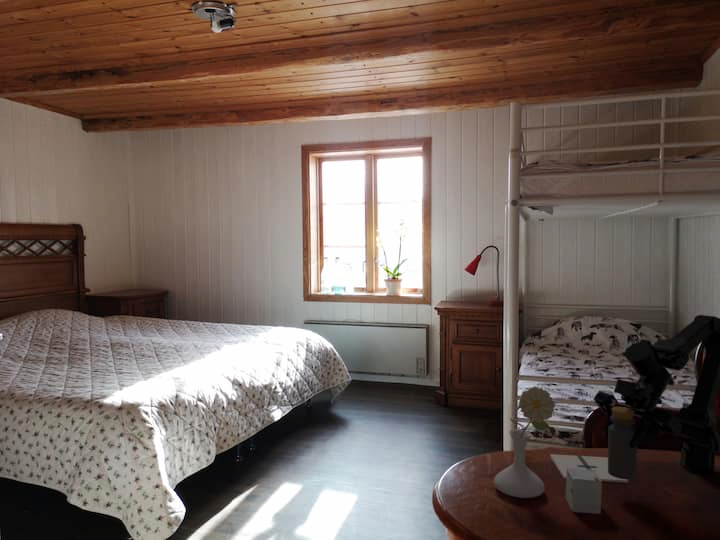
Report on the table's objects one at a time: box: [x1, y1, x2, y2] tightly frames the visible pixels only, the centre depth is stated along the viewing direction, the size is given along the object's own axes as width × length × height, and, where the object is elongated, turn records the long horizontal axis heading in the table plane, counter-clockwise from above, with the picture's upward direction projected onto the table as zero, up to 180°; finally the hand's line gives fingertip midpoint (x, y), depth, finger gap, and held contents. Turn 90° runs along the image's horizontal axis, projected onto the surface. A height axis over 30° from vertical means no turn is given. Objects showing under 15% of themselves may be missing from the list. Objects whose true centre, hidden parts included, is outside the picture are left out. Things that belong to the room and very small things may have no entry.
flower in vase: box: [493, 386, 556, 499], centre depth 122 cm, size 13×11×25 cm
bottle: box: [607, 407, 638, 481], centre depth 120 cm, size 6×6×15 cm
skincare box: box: [565, 468, 603, 515], centre depth 116 cm, size 6×6×7 cm
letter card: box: [549, 454, 629, 484], centre depth 136 cm, size 15×14×1 cm
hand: (618, 442), depth 120 cm, fingers closed on bottle, 6 cm apart
